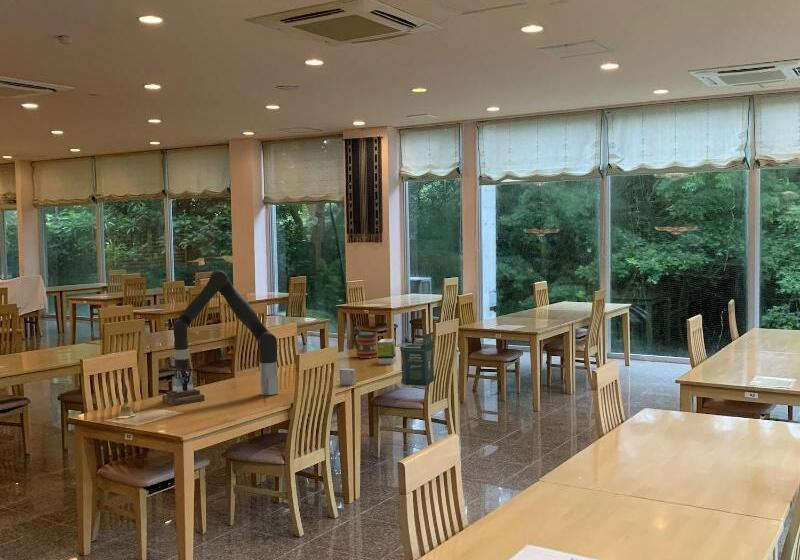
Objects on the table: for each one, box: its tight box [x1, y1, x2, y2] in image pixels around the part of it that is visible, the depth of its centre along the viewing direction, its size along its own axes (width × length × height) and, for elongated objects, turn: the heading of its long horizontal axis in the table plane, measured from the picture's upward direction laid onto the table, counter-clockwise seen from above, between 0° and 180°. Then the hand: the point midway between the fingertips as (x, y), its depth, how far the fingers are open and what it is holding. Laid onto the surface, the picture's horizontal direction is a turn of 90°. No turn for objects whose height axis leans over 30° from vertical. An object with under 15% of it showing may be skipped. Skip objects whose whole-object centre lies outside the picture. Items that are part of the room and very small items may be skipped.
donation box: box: [399, 331, 436, 387], centre depth 450 cm, size 16×16×28 cm
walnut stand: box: [162, 388, 205, 406], centre depth 418 cm, size 16×16×5 cm
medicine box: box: [339, 368, 356, 386], centre depth 451 cm, size 8×4×9 cm, turn 71°
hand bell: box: [118, 383, 135, 416], centre depth 383 cm, size 8×8×16 cm
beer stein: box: [352, 327, 378, 359], centre depth 551 cm, size 19×15×20 cm
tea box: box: [376, 338, 397, 365], centre depth 525 cm, size 15×10×15 cm
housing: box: [172, 375, 194, 394], centre depth 417 cm, size 9×4×8 cm, turn 130°
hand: (183, 389), depth 418 cm, fingers closed on housing, 4 cm apart
